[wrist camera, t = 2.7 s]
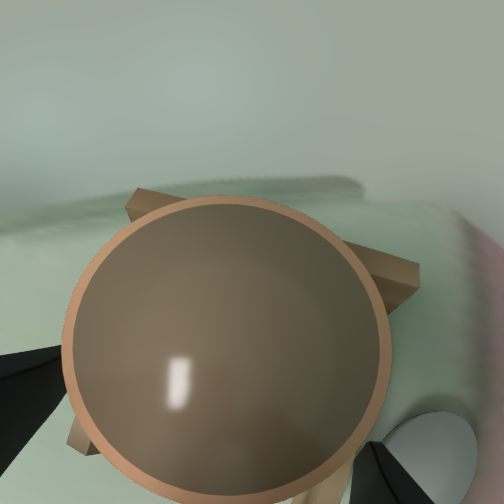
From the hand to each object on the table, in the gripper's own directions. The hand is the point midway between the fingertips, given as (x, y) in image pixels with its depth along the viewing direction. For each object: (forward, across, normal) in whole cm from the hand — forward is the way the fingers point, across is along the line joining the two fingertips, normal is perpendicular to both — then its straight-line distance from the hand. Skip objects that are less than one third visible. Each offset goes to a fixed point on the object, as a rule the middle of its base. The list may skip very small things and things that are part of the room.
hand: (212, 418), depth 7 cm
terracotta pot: (+8, 0, +5) cm, 9 cm away
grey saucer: (+5, -14, +8) cm, 17 cm away
